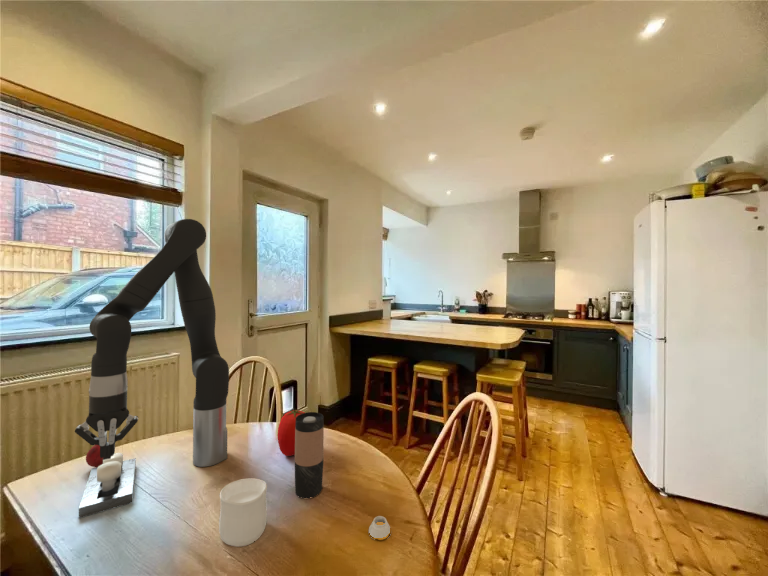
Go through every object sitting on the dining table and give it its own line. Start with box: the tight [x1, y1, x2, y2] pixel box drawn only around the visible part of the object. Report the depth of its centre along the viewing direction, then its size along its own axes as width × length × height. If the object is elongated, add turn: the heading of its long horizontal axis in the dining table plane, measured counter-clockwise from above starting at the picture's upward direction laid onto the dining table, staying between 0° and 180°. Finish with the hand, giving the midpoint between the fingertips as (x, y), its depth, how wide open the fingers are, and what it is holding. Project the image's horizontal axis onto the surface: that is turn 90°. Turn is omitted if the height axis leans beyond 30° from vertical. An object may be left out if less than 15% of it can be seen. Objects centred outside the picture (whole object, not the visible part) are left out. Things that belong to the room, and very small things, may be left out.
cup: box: [218, 477, 268, 548], centre depth 74 cm, size 10×10×10 cm
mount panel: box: [78, 457, 137, 519], centre depth 88 cm, size 10×20×2 cm, turn 35°
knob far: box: [103, 452, 124, 466], centre depth 93 cm, size 4×4×6 cm
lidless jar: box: [368, 515, 391, 538], centre depth 74 cm, size 5×3×5 cm
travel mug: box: [294, 411, 325, 499], centre depth 89 cm, size 8×8×20 cm
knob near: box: [97, 461, 120, 491], centre depth 83 cm, size 4×4×6 cm
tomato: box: [276, 408, 306, 457], centre depth 108 cm, size 13×11×14 cm
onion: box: [85, 445, 103, 468], centre depth 98 cm, size 6×6×8 cm
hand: (107, 457), depth 84 cm, fingers closed
